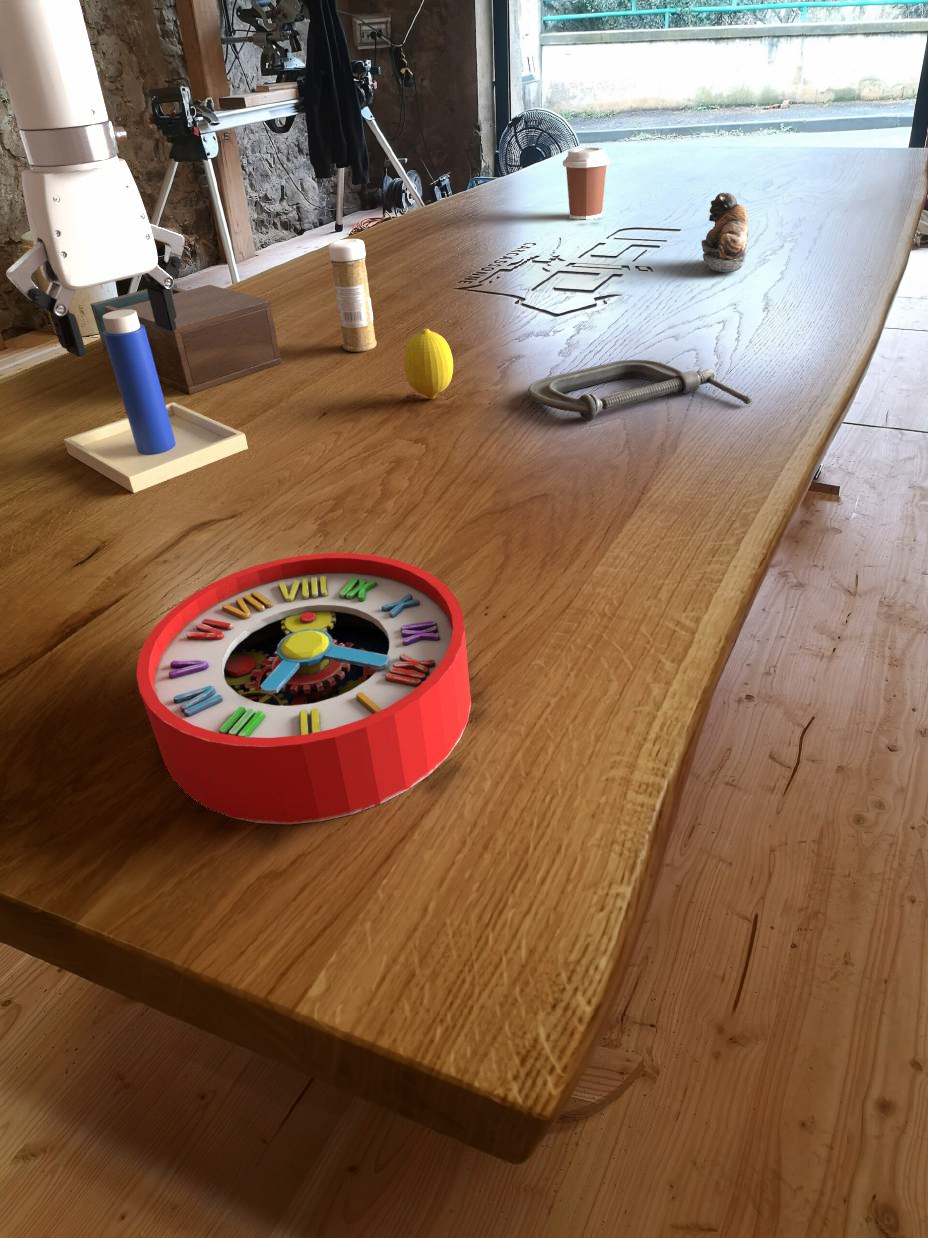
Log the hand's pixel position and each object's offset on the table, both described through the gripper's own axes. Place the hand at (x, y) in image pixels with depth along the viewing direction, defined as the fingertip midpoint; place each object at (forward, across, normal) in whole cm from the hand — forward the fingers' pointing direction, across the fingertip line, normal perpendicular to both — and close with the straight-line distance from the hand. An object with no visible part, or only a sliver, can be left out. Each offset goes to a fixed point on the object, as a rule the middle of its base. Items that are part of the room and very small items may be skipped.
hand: (123, 340), depth 89 cm
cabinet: (+12, -18, -19) cm, 29 cm away
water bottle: (+11, 0, +1) cm, 11 cm away
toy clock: (+11, +14, +48) cm, 52 cm away
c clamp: (+11, -41, +32) cm, 53 cm away
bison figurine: (+11, -94, +10) cm, 95 cm away
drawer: (+11, -18, -32) cm, 38 cm away
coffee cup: (+12, -115, -35) cm, 121 cm away
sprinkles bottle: (+12, -35, -8) cm, 38 cm away
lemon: (+12, -28, +14) cm, 33 cm away
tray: (+12, 0, +1) cm, 12 cm away
